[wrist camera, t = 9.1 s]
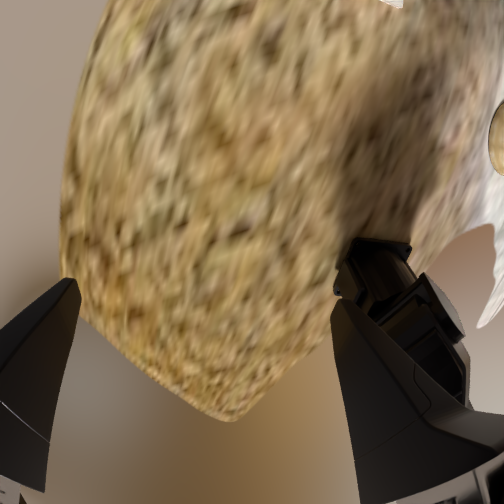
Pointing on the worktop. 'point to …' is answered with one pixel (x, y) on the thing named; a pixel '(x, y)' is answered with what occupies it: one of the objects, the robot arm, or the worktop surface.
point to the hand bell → (497, 141)
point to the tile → (394, 3)
